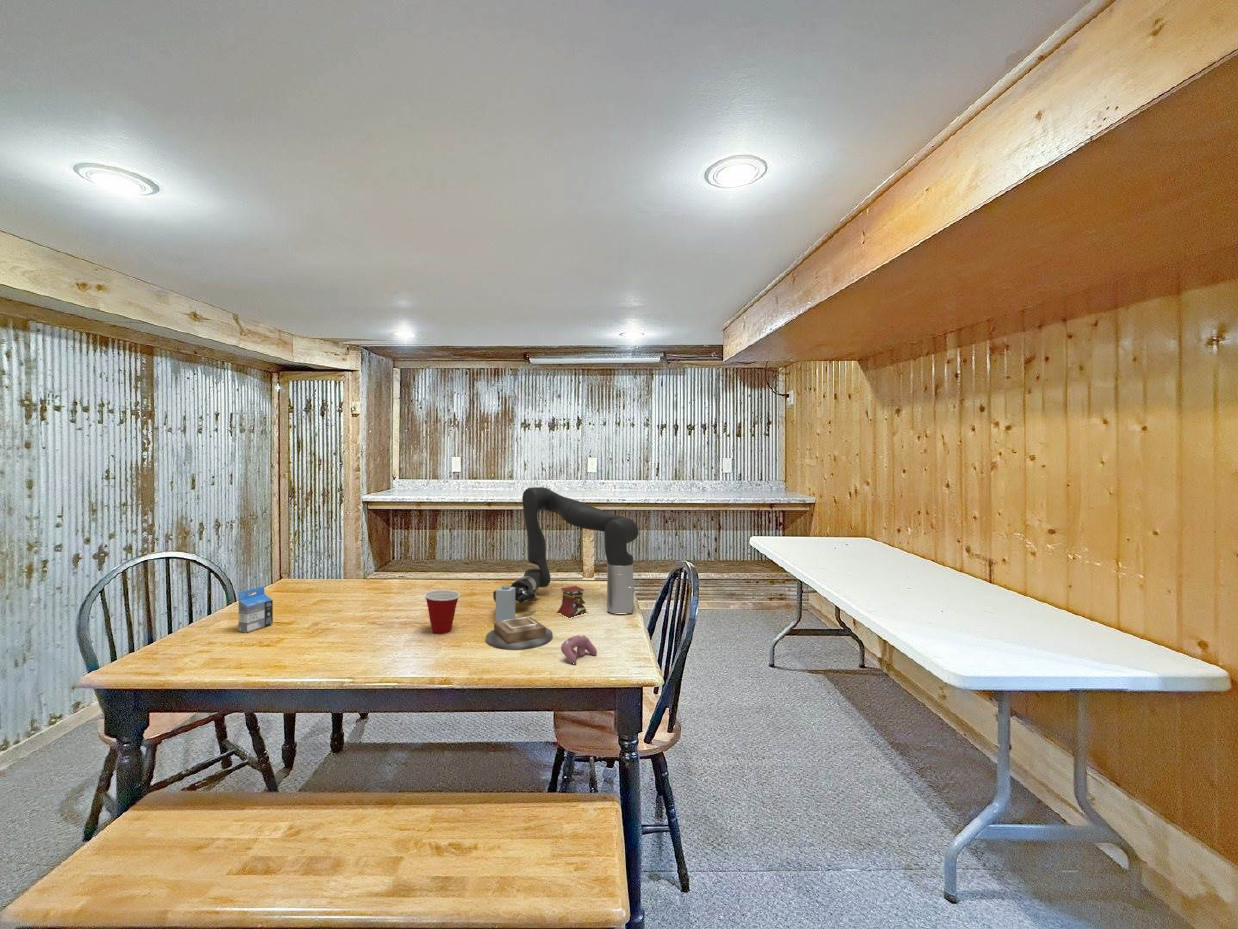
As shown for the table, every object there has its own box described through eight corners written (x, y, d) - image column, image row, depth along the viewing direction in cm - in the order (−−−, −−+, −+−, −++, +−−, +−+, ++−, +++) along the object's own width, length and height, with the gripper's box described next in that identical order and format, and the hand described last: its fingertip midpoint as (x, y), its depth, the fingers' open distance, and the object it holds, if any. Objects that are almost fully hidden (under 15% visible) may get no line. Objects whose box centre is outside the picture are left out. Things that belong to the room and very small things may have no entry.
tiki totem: (568, 619, 188) (568, 593, 188) (556, 613, 195) (556, 587, 195) (589, 615, 193) (590, 589, 193) (576, 609, 200) (577, 584, 200)
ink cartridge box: (247, 633, 171) (246, 593, 171) (237, 632, 172) (237, 592, 172) (273, 625, 179) (273, 587, 179) (264, 623, 181) (264, 586, 180)
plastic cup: (449, 638, 169) (449, 598, 168) (417, 635, 171) (417, 596, 170) (466, 627, 179) (466, 590, 179) (435, 624, 181) (435, 588, 181)
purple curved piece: (588, 657, 158) (580, 633, 160) (599, 654, 155) (591, 629, 157) (564, 668, 150) (556, 642, 152) (575, 664, 147) (566, 638, 149)
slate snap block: (515, 619, 187) (515, 584, 187) (510, 624, 183) (510, 588, 182) (501, 618, 188) (501, 584, 188) (495, 623, 183) (495, 587, 183)
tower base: (537, 624, 183) (537, 609, 183) (563, 642, 166) (563, 626, 166) (477, 634, 172) (477, 618, 172) (498, 654, 155) (498, 637, 155)
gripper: (505, 577, 205) (487, 588, 189) (542, 579, 202) (528, 590, 186) (504, 597, 205) (487, 609, 189) (542, 599, 203) (528, 612, 187)
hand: (507, 600), depth 188 cm, fingers open, 8 cm apart
